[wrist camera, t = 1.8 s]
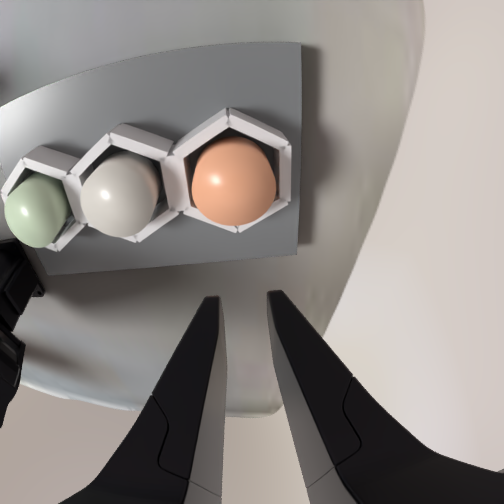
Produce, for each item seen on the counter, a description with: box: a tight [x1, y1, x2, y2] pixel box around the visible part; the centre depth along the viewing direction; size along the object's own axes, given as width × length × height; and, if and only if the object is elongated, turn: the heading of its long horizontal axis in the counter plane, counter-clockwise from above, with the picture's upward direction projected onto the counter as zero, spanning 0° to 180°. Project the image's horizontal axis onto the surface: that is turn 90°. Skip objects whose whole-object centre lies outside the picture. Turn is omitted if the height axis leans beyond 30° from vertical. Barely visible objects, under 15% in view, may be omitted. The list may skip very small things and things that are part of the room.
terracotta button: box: [192, 136, 276, 226], centre depth 15 cm, size 4×4×2 cm
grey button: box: [80, 151, 161, 237], centre depth 15 cm, size 4×4×2 cm
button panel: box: [0, 42, 302, 276], centre depth 16 cm, size 20×14×4 cm
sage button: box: [5, 172, 72, 248], centre depth 14 cm, size 4×4×2 cm
